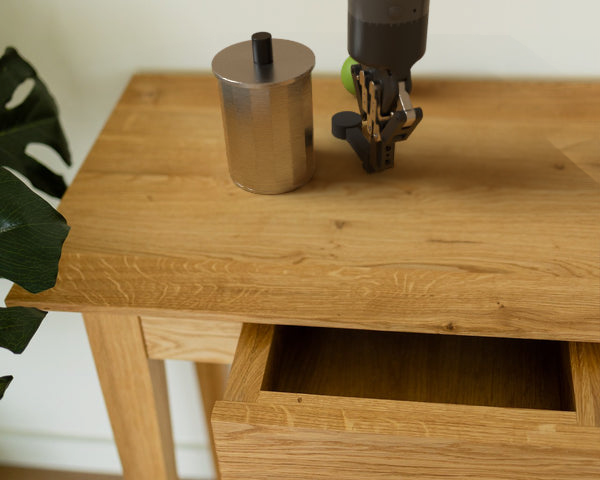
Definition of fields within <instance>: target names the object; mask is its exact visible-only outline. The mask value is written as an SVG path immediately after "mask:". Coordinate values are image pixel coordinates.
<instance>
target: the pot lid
mask: <svg viewBox="0 0 600 480" xmlns="http://www.w3.org/2000/svg"><path fill="white" fill-rule="evenodd" d="M210 67H211V72H212V74H213V75H214V77H215V78H216V79H217V78H218V79H219V80H220V81H222V82H224V83H226V84H229V85H232V86H236V87H241V88H250V89H264V88H274V87H280V86H284V85H288V84H291V83H294V82H296V81H299V80H301V79H303V78H304V77H306V76H307V75H308V74H310V73H312V72H313V70H314V69H315V67H316V54H315V53H314V51H313V50H312V49H311V48H310V47H309V46H308V45H305V44H303V43H301V42H298V41H294V40H290V39H286V38H273V35H272V33H270V32H268V31H256V32H254V33H253V34H251V38H250V39H247V40H243V41H239V42H236V43H233V44H231V45H229V46H226V47H224V48H223V49H221V50H220V51H218V52H217V53H216V54H215V55H214V56H213V58H212V60H211V66H210Z"/></svg>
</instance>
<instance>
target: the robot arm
mask: <svg viewBox="0 0 600 480" xmlns="http://www.w3.org/2000/svg"><path fill="white" fill-rule="evenodd" d="M430 3H431V0H347V15H346V16H347V23H346V25H347V26H346V27H347V28H346V29H347V30H346V31H347V39H346V47H347V48H346V50H347V54H348V55H349V56H350V57H351V58H352V59H353V60H354V61H356V62H358V64H354V65H351V70H350V71H351V75H352V79H353V84H354V88H355V92H356V96H355V98H356V101H357V105H358V110H359V114H360V115H361V119H362V123H364V122H366V131H367V132H368V135H370V137H369V138H370V139H369V142H370V164H371V165H372V167H373V168H374V169H375V171H377V172H376V173H380V172H384V171H389V170H391V169H393V168H394V166H395V152H396V143H399V142H405V141H407V140H408V139H409V138H410V136H411V135H412V133H413V132H414V131H415V129H416V128H417V127H418V125H419V124H420V123H421V121H422V120H423V118H424V111H423V109H422V107H420V106H417V107H413V105H412V101H411V98H410V95H411V93H412V91H413V80H412V79H413V78H412V68H413V66H414V65H416V64H417V62H419V61H420V60H421V59H422V58H423V57H424V56H425V54H426V52H427V43H428V31H429V18H430V17H429V15H430Z"/></svg>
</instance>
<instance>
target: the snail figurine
mask: <svg viewBox="0 0 600 480" xmlns="http://www.w3.org/2000/svg"><path fill="white" fill-rule="evenodd" d="M354 64H358V62H356V61H354V60H353V59H352V58H351V57H350V55H349V56H348V57H347V58H346V59H345V60H344V61H343V64H342V66H341V69H340V80H341V84H342V85H343V87H344V88H345V90H346V91H347V92H348V93H350V94H351V95H353V96H355V97H356V92H355V88H354V84H353V79H352V75H351V71H350V70H351V65H354Z"/></svg>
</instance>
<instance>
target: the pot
mask: <svg viewBox="0 0 600 480" xmlns="http://www.w3.org/2000/svg"><path fill="white" fill-rule="evenodd" d="M312 77H313V76H312V72H311V73H310V74H308V75H307V76H306V77H304V78H303V79H301V80H299V81H296V82H294V83H291V84H288V85H284V86H280V87H274V88H264V89H250V88H241V87H236V86H232V85H229V84H226V83H224V82H222V81H220V80H219V79H218V78H216V79H217V87H218V95H219V103H220V111H221V112H220V113H221V120H222V128H223V129H222V130H223V137H224V143H225V151H226V160H227V168H228V173H229V177H230V179H231V181H232V183H234V185H235V186H237V187H238V188H239V189H240V190H244V191H245V192H248V193H252V194H257V195H279V194H286V193H289V192H291V191H295V190H297V189H299V188H301V187H303V186H305V185H306V184H307V183H309V181H310V180H311V179H312V177H313V176H314V173H315V163H316V161H315V136H314V135H315V134H314V133H315V131H314V107H313V105H314V103H313V78H312Z"/></svg>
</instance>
